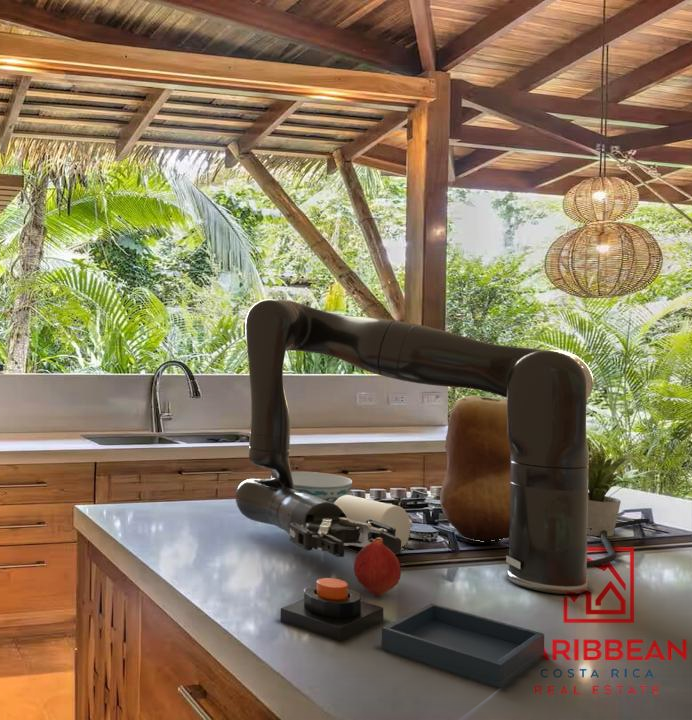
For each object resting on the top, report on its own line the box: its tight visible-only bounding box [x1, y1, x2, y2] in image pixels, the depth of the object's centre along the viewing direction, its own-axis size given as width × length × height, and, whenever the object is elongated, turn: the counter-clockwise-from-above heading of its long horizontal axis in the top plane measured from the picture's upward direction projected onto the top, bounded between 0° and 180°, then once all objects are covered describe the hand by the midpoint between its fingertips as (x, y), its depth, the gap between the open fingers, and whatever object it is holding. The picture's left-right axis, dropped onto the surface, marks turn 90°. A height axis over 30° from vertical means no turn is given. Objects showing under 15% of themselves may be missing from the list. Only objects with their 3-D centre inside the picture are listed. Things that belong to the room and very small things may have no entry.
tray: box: [381, 602, 545, 689], centre depth 81 cm, size 12×12×2 cm
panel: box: [280, 584, 384, 643], centre depth 90 cm, size 10×8×4 cm
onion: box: [353, 537, 402, 597], centre depth 99 cm, size 6×6×8 cm
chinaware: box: [270, 471, 353, 504], centre depth 143 cm, size 15×15×8 cm
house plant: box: [587, 440, 648, 537], centre depth 130 cm, size 14×14×16 cm
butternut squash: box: [439, 395, 511, 544], centre depth 126 cm, size 14×13×25 cm
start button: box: [316, 577, 349, 600], centre depth 90 cm, size 4×4×2 cm
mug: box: [334, 494, 413, 552], centre depth 123 cm, size 12×10×8 cm
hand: (370, 548), depth 101 cm, fingers open, 8 cm apart
